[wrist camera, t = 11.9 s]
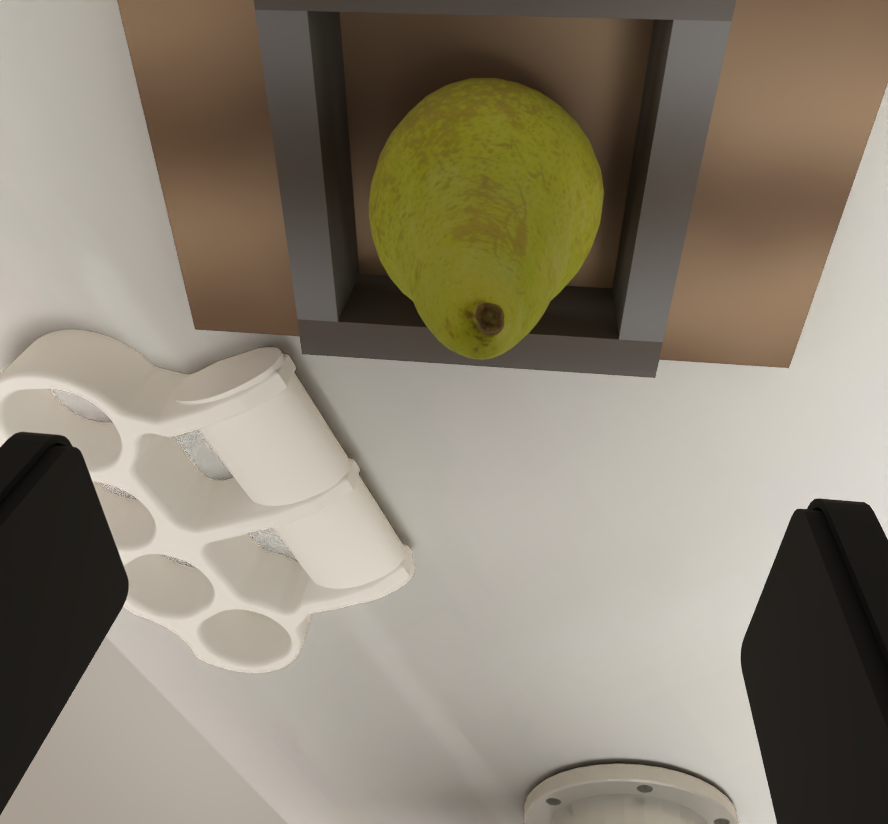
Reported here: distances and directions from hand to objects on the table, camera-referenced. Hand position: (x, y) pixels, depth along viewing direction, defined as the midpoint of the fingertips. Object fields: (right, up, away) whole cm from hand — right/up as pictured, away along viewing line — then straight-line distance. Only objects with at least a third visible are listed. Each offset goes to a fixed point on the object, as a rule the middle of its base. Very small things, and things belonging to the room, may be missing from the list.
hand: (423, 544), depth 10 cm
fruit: (+2, +9, +11) cm, 15 cm away
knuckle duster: (-10, -1, +23) cm, 25 cm away
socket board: (+2, +10, +12) cm, 15 cm away
